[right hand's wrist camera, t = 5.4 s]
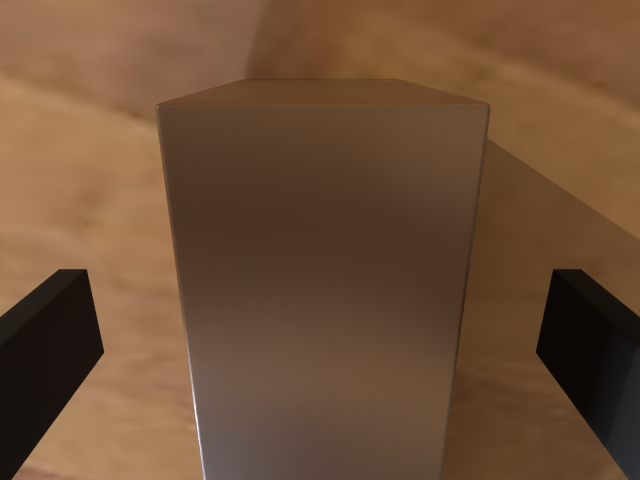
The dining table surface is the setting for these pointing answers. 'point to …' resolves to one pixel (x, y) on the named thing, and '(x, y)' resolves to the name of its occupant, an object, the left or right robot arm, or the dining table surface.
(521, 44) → the dining table surface
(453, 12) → the dining table surface
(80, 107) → the dining table surface
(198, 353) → the beam
